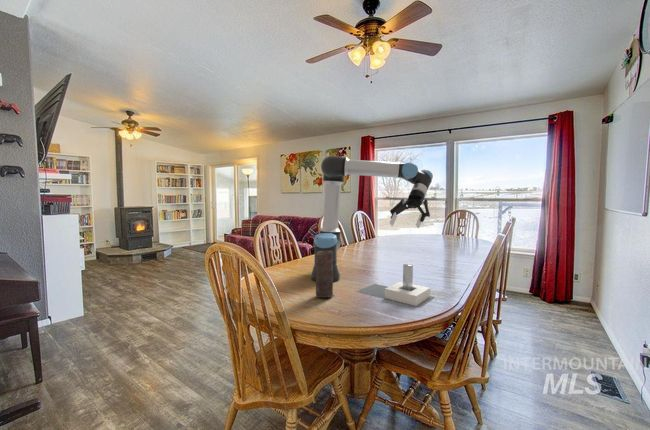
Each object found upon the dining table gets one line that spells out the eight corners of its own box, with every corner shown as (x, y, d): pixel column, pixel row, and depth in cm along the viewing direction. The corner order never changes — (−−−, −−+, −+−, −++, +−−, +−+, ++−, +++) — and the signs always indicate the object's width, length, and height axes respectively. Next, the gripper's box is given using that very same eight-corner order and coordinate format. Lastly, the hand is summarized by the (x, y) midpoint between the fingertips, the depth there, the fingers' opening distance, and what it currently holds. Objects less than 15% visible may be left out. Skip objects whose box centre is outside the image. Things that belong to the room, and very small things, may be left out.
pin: (400, 297, 129) (401, 265, 128) (405, 295, 132) (405, 263, 131) (409, 299, 126) (410, 266, 125) (413, 297, 130) (414, 264, 129)
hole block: (384, 297, 128) (384, 288, 128) (399, 290, 139) (400, 281, 139) (416, 305, 119) (416, 296, 119) (429, 296, 130) (430, 287, 130)
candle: (331, 300, 126) (331, 253, 125) (313, 299, 128) (314, 252, 126) (334, 294, 134) (334, 250, 132) (317, 293, 135) (318, 249, 134)
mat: (356, 292, 137) (356, 291, 137) (374, 284, 149) (374, 283, 149) (420, 309, 117) (420, 307, 117) (435, 298, 129) (435, 297, 129)
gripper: (443, 199, 150) (431, 232, 140) (397, 198, 166) (383, 228, 156) (440, 188, 146) (427, 221, 135) (393, 189, 162) (378, 218, 151)
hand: (403, 225), depth 145 cm, fingers open, 13 cm apart
